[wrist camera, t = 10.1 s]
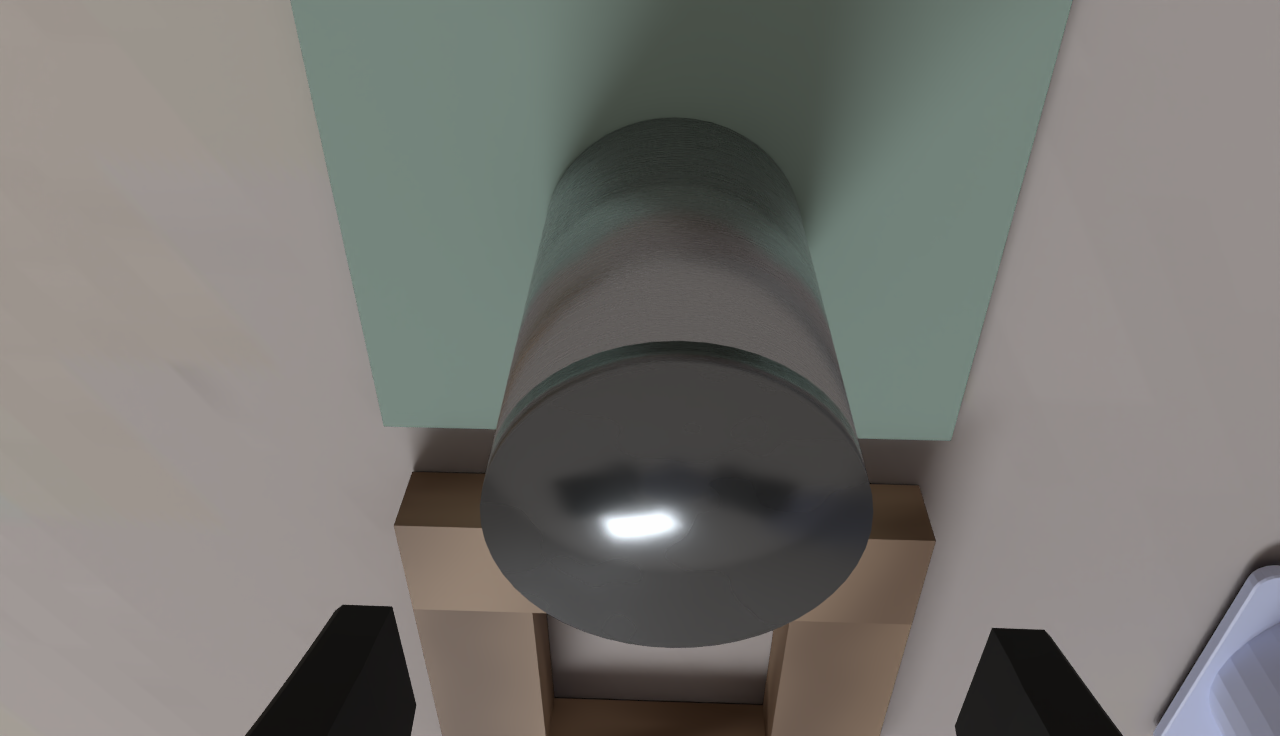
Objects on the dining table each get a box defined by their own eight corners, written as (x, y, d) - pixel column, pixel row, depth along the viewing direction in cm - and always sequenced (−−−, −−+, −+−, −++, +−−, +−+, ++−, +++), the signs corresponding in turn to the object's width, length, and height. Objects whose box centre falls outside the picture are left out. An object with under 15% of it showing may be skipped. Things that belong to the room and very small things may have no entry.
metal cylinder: (815, 118, 16) (905, 375, 10) (788, 347, 19) (844, 651, 13) (536, 116, 16) (456, 368, 10) (552, 344, 19) (499, 643, 13)
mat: (1071, -34, 15) (1080, -28, 14) (946, 429, 21) (950, 440, 20) (290, -43, 15) (281, -37, 15) (388, 415, 21) (384, 426, 21)
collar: (919, 485, 22) (935, 540, 20) (847, 761, 29) (856, 816, 28) (412, 471, 22) (393, 525, 21) (468, 748, 30) (457, 802, 28)
